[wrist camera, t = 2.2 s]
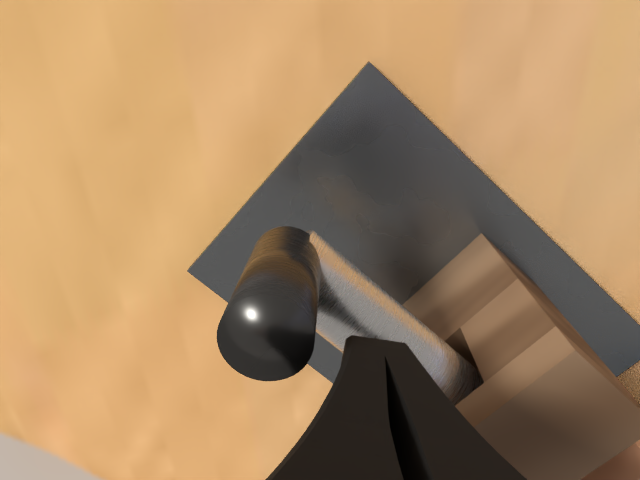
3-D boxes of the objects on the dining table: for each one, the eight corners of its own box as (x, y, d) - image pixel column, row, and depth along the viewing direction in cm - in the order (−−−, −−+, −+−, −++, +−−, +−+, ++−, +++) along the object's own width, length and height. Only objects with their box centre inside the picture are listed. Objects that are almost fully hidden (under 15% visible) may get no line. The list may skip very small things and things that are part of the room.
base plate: (653, 339, 19) (659, 345, 19) (463, 477, 22) (465, 485, 21) (368, 61, 16) (369, 61, 15) (190, 267, 19) (186, 270, 18)
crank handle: (593, 458, 15) (696, 620, 11) (543, 491, 16) (622, 658, 12) (289, 198, 13) (261, 273, 8) (243, 249, 13) (194, 345, 9)
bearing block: (535, 284, 18) (658, 427, 11) (401, 395, 20) (434, 575, 13) (481, 232, 17) (575, 350, 10) (348, 353, 19) (352, 519, 12)
